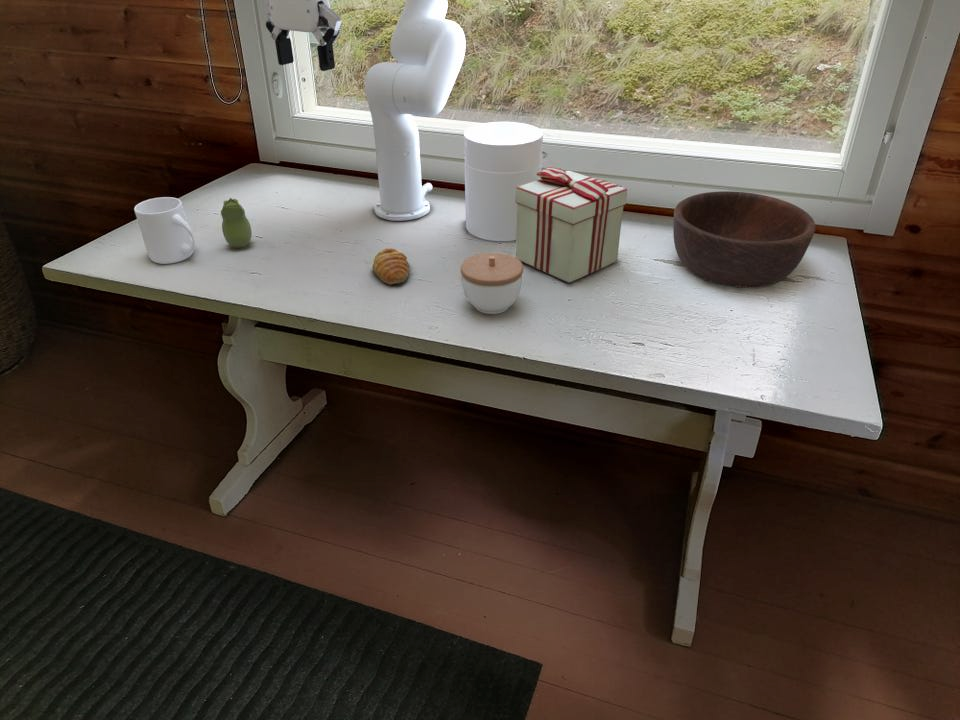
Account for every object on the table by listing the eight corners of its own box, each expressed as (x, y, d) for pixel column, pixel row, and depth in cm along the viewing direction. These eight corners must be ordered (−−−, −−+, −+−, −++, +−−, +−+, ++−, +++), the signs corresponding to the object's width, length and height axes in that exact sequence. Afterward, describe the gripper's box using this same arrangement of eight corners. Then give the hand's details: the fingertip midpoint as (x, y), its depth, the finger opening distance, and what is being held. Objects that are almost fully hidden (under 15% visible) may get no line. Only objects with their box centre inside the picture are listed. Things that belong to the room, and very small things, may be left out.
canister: (554, 225, 151) (559, 132, 140) (503, 248, 142) (504, 150, 130) (501, 205, 160) (502, 117, 149) (450, 225, 151) (447, 133, 140)
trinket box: (459, 292, 127) (458, 245, 121) (518, 289, 127) (519, 242, 122) (463, 322, 118) (462, 273, 112) (526, 319, 118) (527, 270, 113)
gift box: (630, 254, 139) (640, 170, 129) (574, 287, 128) (581, 198, 118) (562, 231, 148) (567, 151, 138) (505, 260, 137) (506, 175, 127)
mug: (182, 272, 134) (168, 220, 128) (140, 259, 139) (124, 209, 133) (216, 254, 141) (203, 204, 134) (174, 243, 145) (160, 194, 139)
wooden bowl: (658, 283, 128) (666, 232, 123) (675, 231, 148) (682, 184, 142) (802, 306, 121) (818, 252, 115) (801, 247, 141) (814, 199, 135)
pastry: (415, 283, 129) (414, 265, 127) (380, 289, 128) (378, 271, 126) (404, 262, 137) (403, 244, 135) (370, 267, 135) (368, 249, 133)
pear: (253, 239, 147) (244, 193, 141) (255, 249, 142) (245, 203, 137) (226, 242, 145) (215, 197, 140) (226, 253, 141) (215, 206, 135)
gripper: (348, -47, 110) (359, 68, 120) (270, -50, 118) (286, 58, 128) (315, -44, 105) (329, 76, 115) (235, -47, 113) (255, 65, 122)
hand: (306, 66), depth 121 cm, fingers open, 9 cm apart
